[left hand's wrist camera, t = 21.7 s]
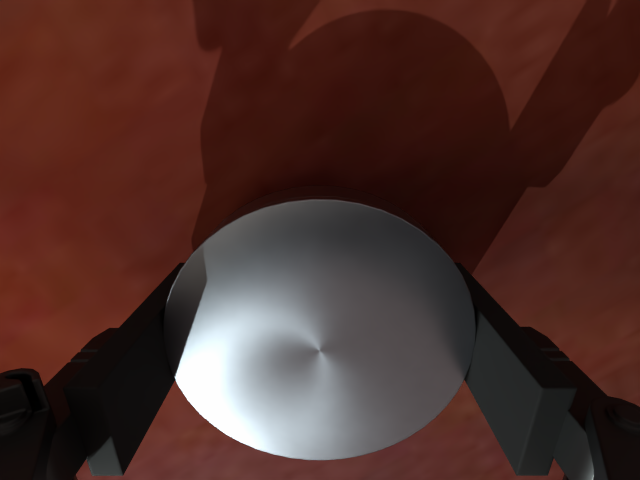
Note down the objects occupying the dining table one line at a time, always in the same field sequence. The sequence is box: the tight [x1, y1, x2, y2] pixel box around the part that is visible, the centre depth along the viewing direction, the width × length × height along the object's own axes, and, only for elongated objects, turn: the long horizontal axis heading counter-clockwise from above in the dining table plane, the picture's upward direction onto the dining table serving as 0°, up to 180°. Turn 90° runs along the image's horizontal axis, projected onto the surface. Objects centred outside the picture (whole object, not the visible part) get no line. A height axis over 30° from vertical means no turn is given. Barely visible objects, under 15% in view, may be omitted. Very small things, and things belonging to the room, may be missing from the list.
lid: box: [163, 185, 476, 460], centre depth 11 cm, size 10×10×2 cm
